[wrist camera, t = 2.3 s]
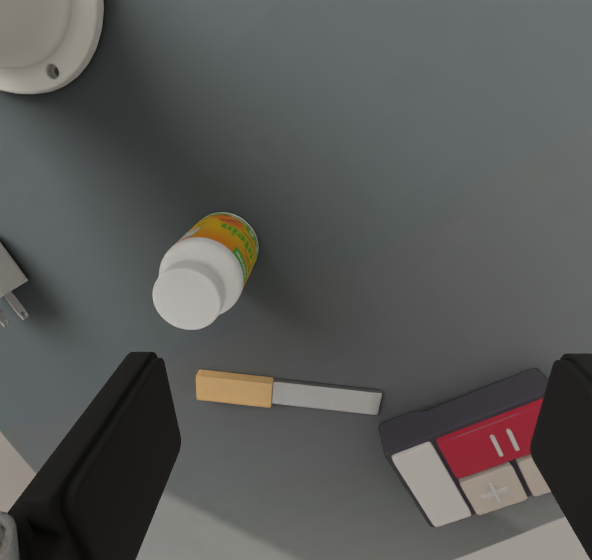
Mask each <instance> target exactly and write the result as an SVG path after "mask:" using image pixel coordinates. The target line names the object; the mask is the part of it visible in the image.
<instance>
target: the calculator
mask: <svg viewBox="0 0 592 560" xmlns="http://www.w3.org/2000/svg"><path fill="white" fill-rule="evenodd" d="M547 384H548V379H547V378H546V377H545V376H544V375H543V374H542V372H541V371H540V370H539V369H537V368H533V369H530V370H527V371H525V372H522V373H520V374H517V375H515V376H512V377H510V378H507V379H505V380H502V381H500V382H497V383H495V384H492V385H490V386H487V387H485V388H482V389H480V390H477V391H475V392H472V393H470V394H467V395H465V396H462V397H460V398H457V399H455V400H452V401H450V402H447V403H445V404H442V405H439V406H437V407H434V408H432V409H429V410H427V411H411V412H409V413H406V414H404V415H401V416H399V417H396V418H394V419H391V420H389V421H386V422H384V423H382V424H380V425H379V432H380V436H381V441H382V445H383V449H384V454H385V457H386V458H387V460H388V462H389V463H390V465H391V466H392V468H393V469H394V471H395V473H396V474H397V476H398V477H399V479H400V480H401V482H402V484H403V485H404V487H405V488H406V490H407V491H408V493H409V494H410V496H411V498H412V499H413V501H414V502H415V504H416V505H417V507H418V509H419V510H420V512H421V513H422V515H423V516H424V518H425V520H426V521H427V523H428V524H429V525H430V526H431V527H439V526H442V525H445V524H448V523H451V522H454V521H457V520H460V519H463V518H466V517H469V516H471V515H473V514H478V515H482V514H485V513H488V512H491V511H494V510H497V509H500V508H503V507H506V506H509V505H512V504H515V503H519V502H522V501H524V500H526V499H527V497H528V496H531V495H533V496H540V495H543V494H546V493H549V492H551V490H550V489H549V487H548V485H547V484H546V482H545V480H544V478H543V477H542V475H541V473H540V471H539V470H538V468H537V466H536V464H535V463H534V461H533V459H532V456H531V451H530V444H531V440H532V436H533V433H534V429H535V426H536V422H537V419H538V415H539V412H540V408H541V405H542V401H543V398H544V394H545V391H546V387H547Z"/></svg>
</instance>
